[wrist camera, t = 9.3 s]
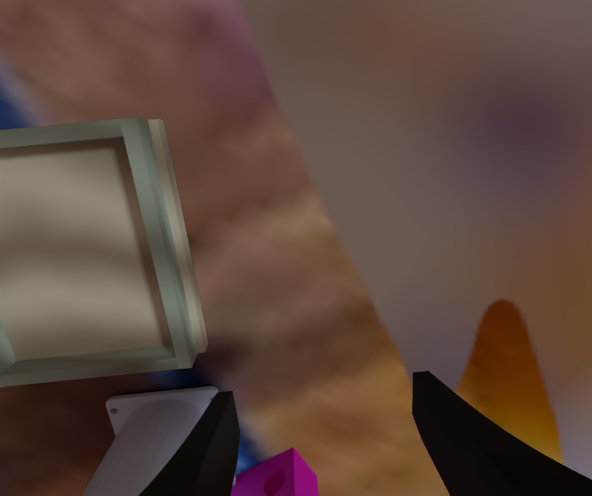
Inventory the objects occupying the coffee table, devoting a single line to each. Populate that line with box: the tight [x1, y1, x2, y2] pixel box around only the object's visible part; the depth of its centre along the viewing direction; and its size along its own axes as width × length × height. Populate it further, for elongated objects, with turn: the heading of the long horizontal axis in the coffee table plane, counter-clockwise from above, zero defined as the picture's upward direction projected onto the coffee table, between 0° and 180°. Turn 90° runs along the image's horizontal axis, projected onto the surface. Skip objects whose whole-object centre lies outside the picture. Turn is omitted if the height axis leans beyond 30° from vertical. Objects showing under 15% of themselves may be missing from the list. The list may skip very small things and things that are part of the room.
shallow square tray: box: [0, 117, 208, 387], centre depth 19 cm, size 15×14×2 cm
